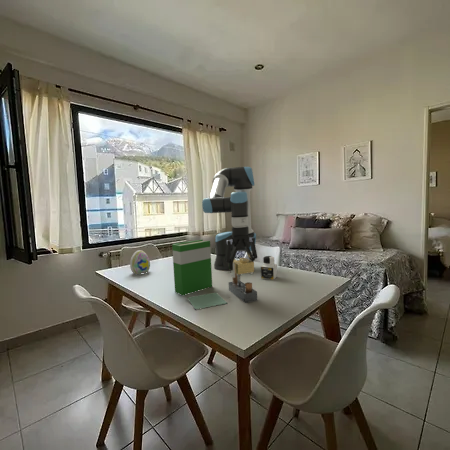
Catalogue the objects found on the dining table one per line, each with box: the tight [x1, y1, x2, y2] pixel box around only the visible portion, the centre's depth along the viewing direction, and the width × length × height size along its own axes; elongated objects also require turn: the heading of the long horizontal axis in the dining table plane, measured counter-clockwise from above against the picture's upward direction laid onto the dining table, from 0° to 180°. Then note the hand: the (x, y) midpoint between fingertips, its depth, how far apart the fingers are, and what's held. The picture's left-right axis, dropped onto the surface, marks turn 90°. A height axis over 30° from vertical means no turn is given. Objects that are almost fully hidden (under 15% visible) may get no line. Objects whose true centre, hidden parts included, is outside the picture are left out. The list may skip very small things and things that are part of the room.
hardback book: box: [171, 239, 213, 296], centre depth 128 cm, size 18×7×24 cm, turn 130°
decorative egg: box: [129, 249, 151, 275], centre depth 163 cm, size 12×12×15 cm
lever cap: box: [233, 257, 255, 275], centre depth 117 cm, size 10×8×5 cm
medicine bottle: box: [260, 255, 278, 281], centre depth 142 cm, size 7×7×12 cm
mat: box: [187, 292, 228, 310], centre depth 113 cm, size 14×14×1 cm
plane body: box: [228, 273, 258, 304], centre depth 117 cm, size 18×6×9 cm, turn 22°
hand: (242, 275), depth 117 cm, fingers closed on lever cap, 8 cm apart
